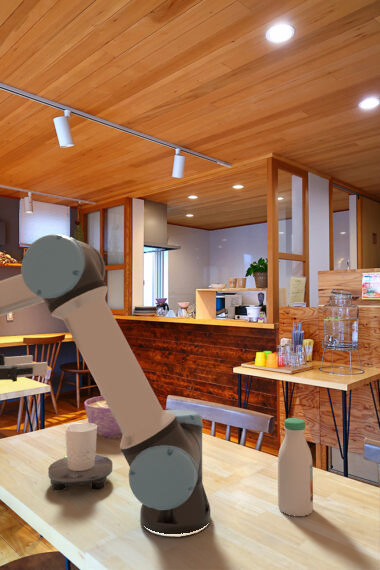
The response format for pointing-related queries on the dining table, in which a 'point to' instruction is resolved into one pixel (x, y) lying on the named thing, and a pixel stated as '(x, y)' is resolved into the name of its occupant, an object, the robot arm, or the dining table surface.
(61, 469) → the stand
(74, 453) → the white cup
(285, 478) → the milk bottle
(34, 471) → the dining table surface
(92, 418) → the bowl of food
